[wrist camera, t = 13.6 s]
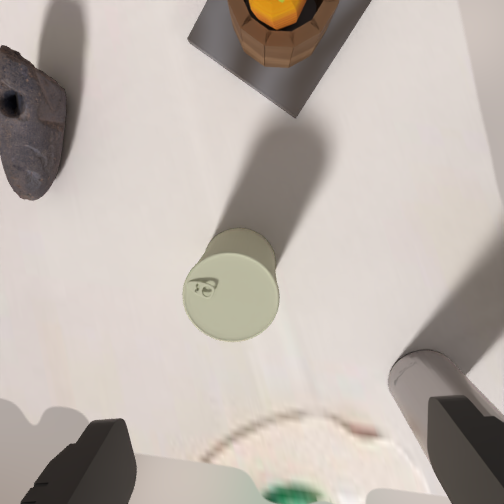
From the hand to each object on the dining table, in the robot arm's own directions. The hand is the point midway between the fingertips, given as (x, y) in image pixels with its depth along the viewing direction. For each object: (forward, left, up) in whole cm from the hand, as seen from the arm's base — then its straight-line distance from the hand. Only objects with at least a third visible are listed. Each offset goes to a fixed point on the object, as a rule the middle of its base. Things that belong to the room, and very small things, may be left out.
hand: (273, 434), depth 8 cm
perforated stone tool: (+27, +5, -32) cm, 42 cm away
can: (0, +6, -32) cm, 33 cm away
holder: (+11, -19, -32) cm, 39 cm away
